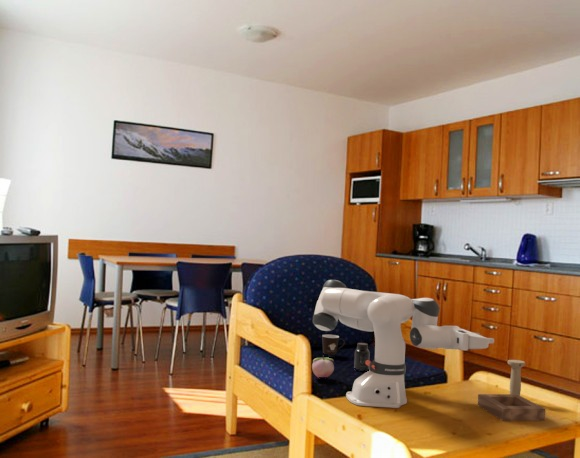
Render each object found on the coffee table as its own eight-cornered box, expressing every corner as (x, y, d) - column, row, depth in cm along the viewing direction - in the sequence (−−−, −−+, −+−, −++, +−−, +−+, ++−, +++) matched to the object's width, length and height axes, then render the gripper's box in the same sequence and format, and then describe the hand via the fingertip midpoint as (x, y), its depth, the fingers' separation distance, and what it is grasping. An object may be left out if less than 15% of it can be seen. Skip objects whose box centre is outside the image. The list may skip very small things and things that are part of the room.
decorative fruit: (328, 376, 219) (329, 352, 219) (335, 381, 211) (337, 357, 211) (307, 376, 216) (309, 353, 216) (314, 382, 208) (316, 357, 208)
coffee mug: (320, 357, 253) (321, 337, 253) (321, 353, 261) (322, 334, 262) (343, 359, 251) (344, 339, 251) (344, 355, 260) (345, 335, 260)
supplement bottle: (371, 370, 233) (372, 343, 233) (365, 373, 227) (366, 346, 227) (357, 367, 236) (358, 341, 237) (351, 370, 231) (352, 343, 231)
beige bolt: (526, 401, 196) (527, 362, 197) (510, 401, 195) (512, 362, 196) (518, 397, 201) (520, 359, 201) (503, 397, 200) (505, 359, 200)
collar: (502, 420, 173) (502, 408, 174) (477, 405, 189) (478, 394, 189) (544, 420, 176) (545, 408, 176) (516, 405, 192) (517, 394, 192)
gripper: (440, 340, 205) (472, 340, 207) (466, 351, 185) (500, 352, 187) (441, 324, 205) (472, 325, 207) (466, 334, 185) (501, 335, 187)
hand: (486, 338), depth 197 cm, fingers open, 8 cm apart
